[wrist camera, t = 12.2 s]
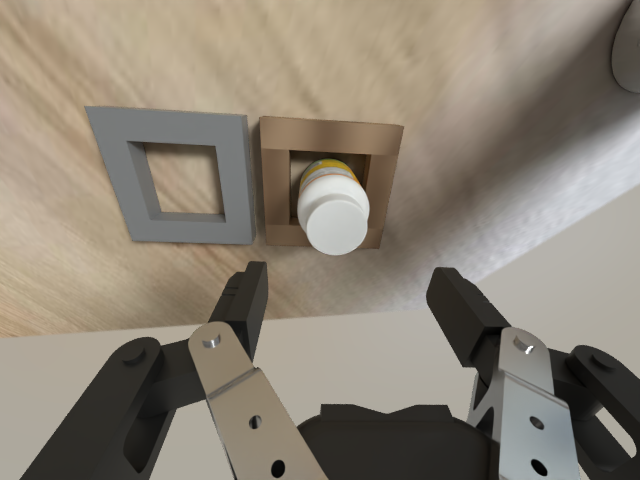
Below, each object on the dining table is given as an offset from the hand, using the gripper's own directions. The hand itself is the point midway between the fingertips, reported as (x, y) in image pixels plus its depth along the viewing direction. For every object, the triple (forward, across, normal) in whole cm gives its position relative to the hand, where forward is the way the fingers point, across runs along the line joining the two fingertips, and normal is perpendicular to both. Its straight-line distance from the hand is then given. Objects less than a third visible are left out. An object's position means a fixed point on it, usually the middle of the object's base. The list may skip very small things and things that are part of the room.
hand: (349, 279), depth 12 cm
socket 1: (+14, +14, 0) cm, 20 cm away
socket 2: (+14, 0, 0) cm, 14 cm away
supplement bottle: (+14, 0, 0) cm, 15 cm away
